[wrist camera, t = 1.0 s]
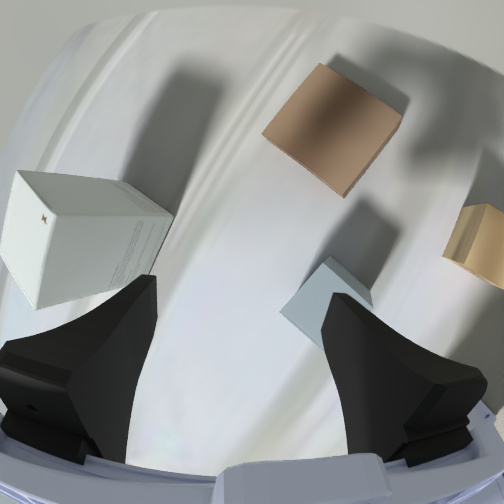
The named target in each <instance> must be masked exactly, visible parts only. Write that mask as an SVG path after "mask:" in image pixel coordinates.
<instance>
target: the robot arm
mask: <svg viewBox="0 0 504 504" xmlns="http://www.w3.org/2000/svg"><path fill="white" fill-rule="evenodd" d="M157 317H158V315H157V283H156V276H154V275H146V274H141V275H140V276H138V277H137V278H136V279H135V280H133V281H132V282H131V283H130V284H128V285H127V286H126V287H124V288H123V289H122V290H120V291H119V292H118V293H117V294H115V295H114V296H113V297H111V298H110V299H108V300H107V301H105V302H104V303H102V304H101V305H99V306H98V307H96V308H95V309H93V310H92V311H90V312H88V313H86V314H85V315H83V316H81V317H79V318H77V319H75V320H73V321H71V322H68V323H66V324H64V325H61V326H59V327H57V328H54V329H52V330H49V331H46V332H43V333H39V334H36V335H33V336H29V337H24V338H20V339H15V340H10V341H6V343H5V344H4V345H3V347H2V348H1V350H0V398H1V399H2V401H3V403H4V404H5V405H6V407H7V409H8V410H7V412H6V414H5V416H4V415H2V414H1V413H0V493H1V494H2V495H4V496H6V497H8V498H9V499H11V500H13V501H15V502H17V503H19V504H504V442H503V440H502V438H501V436H500V435H499V433H498V431H497V429H496V428H495V426H494V422H495V421H496V416H495V415H494V414H493V413H492V412H491V411H490V410H489V408H488V407H487V406H486V405H485V404H484V403H483V402H482V401H481V400H480V399H481V398H482V397H483V395H484V393H485V391H486V389H487V384H488V383H487V380H486V379H485V377H484V376H483V374H482V373H481V371H480V370H479V369H478V368H475V367H471V366H467V365H464V364H460V363H457V362H454V361H452V360H449V359H446V358H444V357H441V356H439V355H437V354H435V353H433V352H430V351H428V350H426V349H424V348H422V347H421V346H419V345H417V344H415V343H414V342H412V341H410V340H409V339H407V338H405V337H404V336H402V335H401V334H399V333H398V332H396V331H395V330H394V329H392V328H391V327H389V326H388V325H387V324H385V323H384V322H383V321H381V320H380V319H379V318H378V317H376V316H375V315H374V314H373V313H371V312H370V311H369V310H368V309H366V308H365V307H364V306H363V305H362V304H360V303H359V302H358V301H357V300H355V299H354V298H353V297H351V296H350V295H348V294H347V293H337V292H333V294H332V297H331V300H330V303H329V306H328V310H327V313H326V316H325V319H324V322H323V325H322V327H321V336H322V342H323V347H324V351H325V354H326V357H327V360H328V363H329V366H330V369H331V372H332V375H333V378H334V381H335V384H336V387H337V390H338V393H339V397H340V401H341V406H342V411H343V416H344V423H345V429H346V437H347V447H348V455H342V456H334V457H325V458H315V459H302V460H282V461H260V462H249V463H242V464H239V465H235V466H232V467H228V468H226V469H225V470H224V471H223V472H222V473H221V474H220V475H219V476H217V477H215V476H202V475H191V474H182V473H174V472H166V471H160V470H153V469H147V468H142V467H137V466H132V465H127V464H125V459H126V448H127V439H128V431H129V424H130V418H131V412H132V406H133V401H134V396H135V391H136V386H137V383H138V379H139V376H140V373H141V371H142V368H143V365H144V362H145V359H146V356H147V353H148V351H149V348H150V345H151V342H152V339H153V336H154V331H155V327H156V322H157ZM487 414H488V416H486V415H487ZM485 416H486V417H485Z"/></svg>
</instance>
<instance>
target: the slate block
mask: <svg viewBox="0 0 504 504" xmlns="http://www.w3.org/2000/svg"><path fill="white" fill-rule="evenodd" d="M333 292H337V293H347V294H348V295H350V296H351V297H353V298H354V299H355V300H357V301H358V302H359V303H360V304H362V305H363V306H364V307H365V308H366V309H368V310H369V311H371V310H372V308H373V304H372V299H371V293H370V290H369V289H368V288H367V287H365V286H364V285H363V284H362V283H361V282H360V281H359V280H358V279H357V278H355V277H354V276H353V275H352V274H351V273H350V272H349V271H348V270H346V269H345V268H344V267H343V266H342V265H341V264H340V263H339V262H337V261H336V260H335V259H334V258H333V257H332V256H331V255H330V256H329V257H328V258H327V259H326V260H325V261H324V262H323V263H322V264H321V265H320V266H319V267H318V269H317V270H316V271H315V272H314V273H313V274H312V275H311V277H310V278H309V279H308V280H307V281H306V282H305V283H304V285H303V286H302V287H301V288H300V289H299V290H298V291H297V293H296V294H295V295H294V296H293V297H292V298H291V299H290V300H289V302H288V303H287V304H286V305H285V306H284V307H283V308H282V309H281V310H280V313H281V314H282V315H283V316H285V317H286V318H287V319H288V320H289V321H290V322H291V323H292V324H294V325H295V326H296V327H297V328H298V329H299V330H300V331H301V332H303V333H304V334H305V335H306V336H307V337H308V338H309V339H310V340H312V341H313V342H314V343H315V344H316V345H317V346H318V347H319V348H321V349H322V350H323V351H324V347H323V342H322V336H321V327H322V325H323V322H324V319H325V316H326V313H327V310H328V306H329V303H330V300H331V297H332V294H333ZM324 352H325V351H324Z"/></svg>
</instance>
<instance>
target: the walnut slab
mask: <svg viewBox="0 0 504 504" xmlns="http://www.w3.org/2000/svg"><path fill="white" fill-rule="evenodd" d="M402 117H403V116H401V115H400V114H399V113H397V112H396V111H395V110H393V109H392V108H391V107H389V106H388V105H386V104H385V103H384V102H382V101H381V100H379V99H378V98H376V97H375V96H373V95H372V94H370V93H369V92H367V91H366V90H364V89H363V88H361V87H360V86H358V85H357V84H355V83H353V82H352V81H350V80H349V79H347V78H345V77H344V76H342V75H340V74H339V73H337V72H335V71H333V70H332V69H330V68H328V67H326V66H325V65H323V64H321V63H319V64H318V65H317V66H316V68H315V69H314V70H313V71H312V72H311V73H310V75H309V76H308V77H307V78H306V79H305V81H304V82H303V83H302V84H301V85H300V87H299V88H298V89H297V90H296V91H295V93H294V94H293V95H292V96H291V97H290V99H289V100H288V101H287V102H286V104H285V105H284V106H283V107H282V108H281V110H280V111H279V112H278V113H277V115H276V116H275V117H274V118H273V120H272V121H271V122H270V123H269V125H268V126H267V127H266V129H265V130H264V131H263V132H262V135H263V136H264V137H265V138H266V139H267V140H269V141H270V142H271V143H272V144H273V145H275V146H276V147H277V148H279V149H280V150H282V151H283V152H284V153H286V154H287V155H288V156H290V157H291V158H292V159H294V160H295V161H297V162H298V163H299V164H300V165H302V166H303V167H304V168H306V169H307V170H308V171H310V172H311V173H312V174H314V175H315V176H316V177H317V178H319V179H320V180H321V181H323V182H324V183H325V184H326V185H328V186H329V187H330V188H331V189H333V190H334V191H335V192H336V193H337V194H339V195H340V196H341V197H342V198H345V197H346V196H347V194H348V193H349V192H350V191H351V189H352V188H353V187H354V186H355V184H356V183H357V182H358V180H359V179H360V178H361V177H362V175H363V174H364V173H365V172H366V170H367V169H368V168H369V166H370V165H371V164H372V162H373V161H374V160H375V159H376V157H377V156H378V155H379V153H380V152H381V151H382V149H383V148H384V147H385V146H386V144H387V143H388V142H389V140H390V139H391V138H392V136H393V135H394V134H395V132H396V131H397V130H398V128H399V126H400V123H401V120H402Z"/></svg>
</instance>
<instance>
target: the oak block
mask: <svg viewBox="0 0 504 504" xmlns="http://www.w3.org/2000/svg"><path fill="white" fill-rule="evenodd" d="M442 257H444V258H446V259H448V260H449V261H451V262H453V263H455V264H456V265H458V266H460V267H461V268H463V269H465V270H467V271H468V272H470V273H472V274H473V275H475V276H477V277H478V278H480V279H482V280H484V281H486V282H488V283H490V284H493V285H495V286H497V287H499V288H501V289H503V290H504V213H503V212H501V211H500V210H498V209H497V208H495V207H494V206H492V205H491V204H489V203H483V204H477V205H472V206H466V207H462V209H461V211H460V214H459V217H458V219H457V222H456V225H455V227H454V230H453V232H452V235H451V237H450V239H449V242H448V244H447V246H446V249H445V251H444V253H443V256H442Z"/></svg>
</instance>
